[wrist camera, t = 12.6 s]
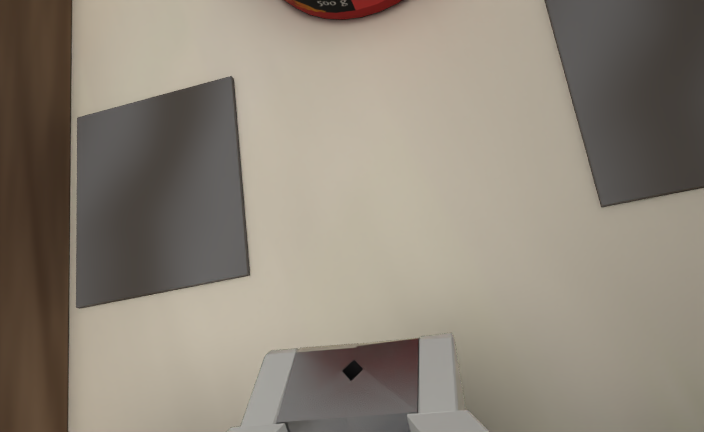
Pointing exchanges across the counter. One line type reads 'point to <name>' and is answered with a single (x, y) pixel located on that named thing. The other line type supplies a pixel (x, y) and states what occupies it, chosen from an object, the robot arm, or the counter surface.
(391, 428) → the robot arm
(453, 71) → the counter surface
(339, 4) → the canned food
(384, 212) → the counter surface
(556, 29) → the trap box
